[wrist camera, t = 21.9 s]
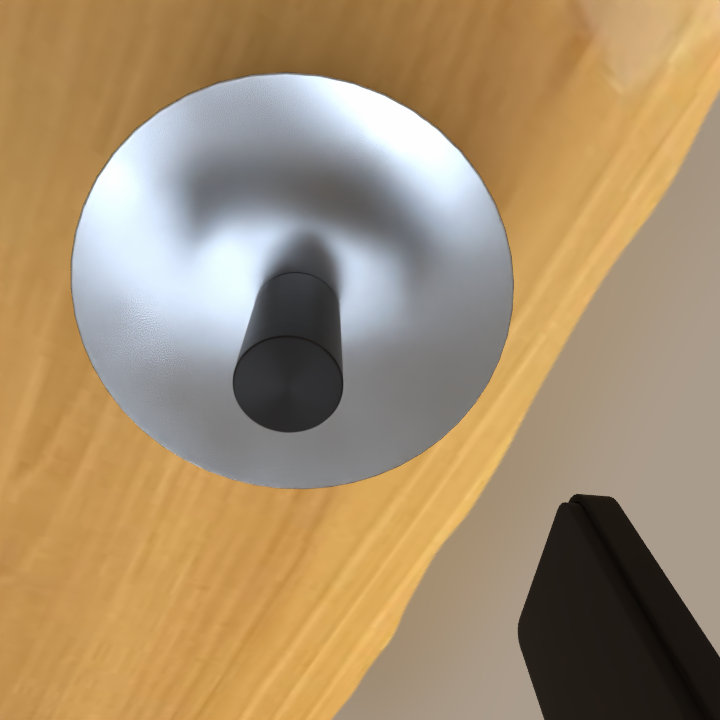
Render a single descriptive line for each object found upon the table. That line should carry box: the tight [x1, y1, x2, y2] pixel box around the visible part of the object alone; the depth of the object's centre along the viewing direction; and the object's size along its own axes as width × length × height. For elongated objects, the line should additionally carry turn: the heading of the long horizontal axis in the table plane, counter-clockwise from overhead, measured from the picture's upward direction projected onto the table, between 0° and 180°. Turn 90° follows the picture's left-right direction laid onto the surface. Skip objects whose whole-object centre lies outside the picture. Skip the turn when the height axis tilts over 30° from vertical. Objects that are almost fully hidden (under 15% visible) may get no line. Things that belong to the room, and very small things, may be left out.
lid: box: [71, 72, 514, 489], centre depth 17 cm, size 13×13×6 cm
